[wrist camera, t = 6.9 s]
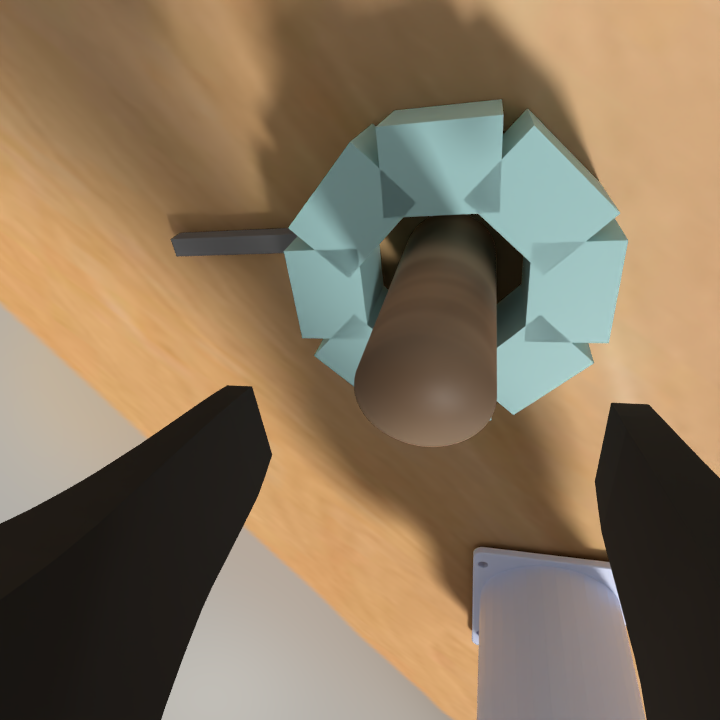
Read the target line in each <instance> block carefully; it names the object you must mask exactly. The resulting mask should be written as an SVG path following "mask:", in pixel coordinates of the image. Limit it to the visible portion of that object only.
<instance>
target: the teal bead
mask: <svg viewBox="0 0 720 720" xmlns="http://www.w3.org/2000/svg"><path fill="white" fill-rule="evenodd" d="M459 214H479V215H480V216H481V217H482V218H483V219H485V220H486V221H487V222H488V223H489V224H490V225H491V226H492V227H493V228H494V229H495V230H496V231H497V232H498V233H500V234H501V235H502V236H503V237H504V238H505V239H506V240H507V241H508V242H509V243H510V244H511V245H512V246H513V247H515V248H516V249H517V250H518V251H519V252H520V253H521V254H522V255H523V267H522V281H521V285H519V286H518V287H517V288H516V289H515V290H513V291H512V292H511V293H510V294H509V295H507V296H506V297H505V298H504V299H503V300H501V301H500V302H499V303H498V304H497V402H498V403H500V404H501V405H502V406H503V407H504V408H506V409H507V410H508V411H509V412H510V413H512V414H513V415H515V414H516V413H518V412H519V411H521V410H522V409H524V408H525V407H527V406H528V405H530V404H532V403H533V402H535V401H536V400H538V399H539V398H541V397H542V396H544V395H545V394H547V393H549V392H550V391H552V390H553V389H555V388H556V387H558V386H559V385H561V384H562V383H564V382H566V381H567V380H569V379H570V378H572V377H573V376H575V375H576V374H578V373H579V372H581V371H583V370H584V369H586V368H587V367H589V366H590V365H592V364H593V363H594V361H593V358H592V355H591V351H590V348H589V344H588V343H609V338H610V333H611V328H612V323H613V317H614V312H615V307H616V302H617V296H618V291H619V286H620V281H621V275H622V270H623V265H624V260H625V254H626V249H627V244H628V239H627V238H626V236H625V234H624V233H623V231H622V230H621V228H620V226H619V225H618V223H617V221H616V220H615V217H616V216H618V215H619V214H620V212H619V211H618V209H617V207H616V206H615V204H614V203H613V201H612V200H611V198H610V197H609V195H608V194H607V192H606V191H605V189H604V188H603V186H602V185H601V183H600V182H599V181H598V180H597V179H596V178H595V177H594V176H593V175H592V174H591V173H590V172H589V171H588V170H587V169H586V168H585V167H584V166H583V165H582V164H581V163H580V162H579V160H578V159H577V158H576V157H575V156H574V155H573V154H572V153H571V152H570V151H569V150H568V149H567V148H566V147H565V146H564V145H563V144H562V143H561V142H560V141H559V140H558V139H557V138H556V137H555V136H554V135H553V134H552V133H551V132H550V131H549V130H548V129H547V128H546V127H545V126H544V125H543V124H542V122H541V121H540V120H539V119H538V118H537V117H536V116H535V115H534V114H533V113H532V112H531V111H530V110H529V109H528V108H527V109H526V110H525V111H524V113H523V114H522V115H521V116H520V117H519V118H518V119H517V120H516V121H515V122H514V123H513V124H512V126H511V127H510V128H509V129H508V130H507V131H506V132H505V133H504V134H503V105H502V99H499V100H489V101H480V102H470V103H461V104H451V105H441V106H432V107H422V108H412V109H403V110H394V111H393V112H392V113H391V114H390V115H389V116H388V117H386V118H385V119H384V120H383V121H382V122H381V123H379V124H378V125H377V126H375V125H374V124H373V123H372V124H371V125H370V126H369V127H367V128H366V129H365V130H364V131H363V132H361V133H360V134H359V135H358V136H357V137H355V138H354V139H353V140H352V141H350V143H349V144H348V145H347V147H346V148H345V150H344V151H343V152H342V154H341V155H340V157H339V158H338V159H337V161H336V162H335V163H334V165H333V166H332V168H331V169H330V170H329V172H328V173H327V175H326V176H325V177H324V179H323V180H322V182H321V183H320V184H319V186H318V187H317V189H316V190H315V191H314V193H313V194H312V196H311V197H310V198H309V200H308V201H307V202H306V204H305V205H304V207H303V208H302V209H301V211H300V212H299V214H298V215H297V216H296V218H295V219H294V221H293V222H292V223H291V225H290V226H289V229H290V230H291V231H292V232H294V233H295V234H296V235H297V237H296V239H295V240H294V241H293V242H292V243H291V244H290V245H289V246H288V247H287V248H286V249H285V250H284V255H285V259H286V264H287V269H288V273H289V278H290V283H291V287H292V292H293V297H294V301H295V306H296V311H297V315H298V320H299V325H300V330H301V334H302V338H323V340H322V342H321V344H320V346H319V348H318V349H317V351H316V353H315V355H314V356H315V357H316V358H318V359H319V360H320V361H321V362H323V363H324V364H325V365H327V366H328V367H329V368H331V369H332V370H333V371H334V372H336V373H337V374H338V375H340V376H341V377H342V378H343V379H345V380H346V381H347V382H349V383H350V384H351V385H353V386H354V378H355V373H356V370H357V368H358V365H359V362H360V360H361V357H362V355H363V352H364V350H365V347H366V345H367V342H368V340H369V337H370V335H371V332H372V330H373V327H374V325H375V322H376V320H377V317H378V315H379V312H380V310H381V307H382V305H383V302H384V300H385V297H386V295H387V292H388V289H387V288H386V287H385V286H384V285H383V275H382V265H381V255H380V245H379V244H380V243H381V242H382V241H383V240H384V238H385V237H386V236H387V235H388V234H389V233H390V232H391V231H392V229H393V228H394V227H395V226H396V225H397V224H398V223H399V222H400V220H401V219H402V218H403V217H417V216H438V215H459ZM491 419H492V417H491ZM491 419H490V421H491Z"/></svg>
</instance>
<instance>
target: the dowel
mask: <svg viewBox="0 0 720 720" xmlns="http://www.w3.org/2000/svg"><path fill="white" fill-rule="evenodd" d="M354 391H355V396H356V399H357V402H358V404H359V407H360V409H361V410H362V412H363V413H364V415H365V416H366V417H367V419H368V420H369V421H370V422H371V423H372V424H373V425H374V426H375V427H377V428H378V429H379V430H380V431H382V432H384V433H385V434H387V435H388V436H390V437H392V438H394V439H396V440H399V441H402V442H404V443H408V444H411V445H417V446H424V447H441V446H448V445H453V444H457V443H460V442H463V441H465V440H467V439H469V438H471V437H472V436H474V435H476V434H477V433H478V432H479V431H481V430H482V429H483V428H484V427H485V426H486V425H487V423H488V422H489V420H490V419H491V417H492V415H493V413H494V411H495V407H496V403H497V300H496V247H495V243H494V240H493V238H492V236H491V234H490V232H489V231H488V230H487V228H486V227H485V226H484V225H483V224H482V223H480V222H479V221H478V220H476V219H474V218H473V217H470V216H468V215H465V214H459V215H438V216H432V217H430V218H428V219H426V220H425V221H423V222H422V223H421V224H419V225H418V226H417V227H416V228H415V230H414V231H413V232H412V234H411V236H410V237H409V240H408V242H407V245H406V247H405V250H404V252H403V255H402V257H401V260H400V262H399V265H398V267H397V270H396V272H395V275H394V277H393V280H392V282H391V285H390V287H389V290H388V292H387V295H386V297H385V300H384V302H383V305H382V307H381V310H380V312H379V315H378V317H377V320H376V322H375V325H374V327H373V330H372V332H371V335H370V337H369V340H368V342H367V345H366V347H365V350H364V352H363V355H362V357H361V360H360V362H359V365H358V368H357V370H356V373H355V378H354Z"/></svg>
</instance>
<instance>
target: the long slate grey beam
mask: <svg viewBox="0 0 720 720" xmlns="http://www.w3.org/2000/svg"><path fill="white" fill-rule="evenodd" d="M296 237H297V235H296V234H295V233H294V232H292V231H291V230H290V229H289V228H278V229H255V230H233V231H210V232H188V233H179V234H178V235H176V236H175V237H173V238H172V239H171V242H172V244H173V247H174V250H175V253H176V256H206V255H238V254H271V253H284V250H285V249H286V248H287V247H288V246H289V245H290V244H291V243H292V242H293V241H294V240H295V239H296Z"/></svg>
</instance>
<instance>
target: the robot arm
mask: <svg viewBox="0 0 720 720" xmlns="http://www.w3.org/2000/svg"><path fill="white" fill-rule="evenodd" d="M271 456H272V453H271V449H270V446H269V442H268V439H267V436H266V432H265V429H264V425H263V422H262V419H261V415H260V412H259V409H258V405H257V402H256V398H255V395H254V392H253V388H252V387H250V386H228V385H227V386H226V387H224V388H222V389H221V390H219V391H217V392H216V393H214V394H213V395H211V396H210V397H208V398H206V399H205V400H204V401H202V402H201V403H199V404H198V405H196V406H195V407H193V408H192V409H190V410H189V411H188V412H186V413H185V414H183V415H182V416H180V417H179V418H178V419H176V420H175V421H173V422H172V423H170V424H169V425H167V426H166V427H164V428H163V429H162V430H160V431H159V432H157V433H156V434H154V435H153V436H151V437H150V438H148V439H147V440H146V441H144V442H143V443H141V444H140V445H138V446H136V447H135V448H133V449H132V450H130V451H129V452H127V453H126V454H124V455H123V456H121V457H119V458H118V459H116V460H115V461H113V462H112V463H110V464H108V465H107V466H105V467H104V468H102V469H101V470H99V471H97V472H96V473H94V474H93V475H91V476H89V477H88V478H86V479H84V480H83V481H81V482H79V483H77V484H76V485H74V486H72V487H70V488H69V489H67V490H65V491H63V492H61V493H60V494H58V495H56V496H54V497H52V498H51V499H49V500H47V501H45V502H43V503H41V504H39V505H38V506H36V507H34V508H32V509H30V510H28V511H26V512H24V513H22V514H20V515H18V516H16V517H13V518H11V519H10V520H7V521H5V522H3V523H1V524H0V720H161V718H162V715H163V712H164V709H165V706H166V703H167V701H168V698H169V695H170V692H171V689H172V687H173V684H174V681H175V678H176V676H177V673H178V670H179V667H180V664H181V662H182V659H183V656H184V654H185V651H186V649H187V646H188V643H189V641H190V638H191V636H192V633H193V630H194V628H195V626H196V623H197V620H198V618H199V615H200V613H201V610H202V608H203V606H204V603H205V601H206V599H207V597H208V595H209V593H210V590H211V588H212V586H213V584H214V582H215V580H216V578H217V576H218V574H219V572H220V570H221V568H222V566H223V565H224V563H225V561H226V559H227V557H228V555H229V553H230V551H231V549H232V547H233V545H234V543H235V541H236V538H237V537H238V535H239V533H240V531H241V529H242V527H243V525H244V523H245V521H246V519H247V517H248V515H249V513H250V511H251V509H252V507H253V505H254V503H255V501H256V499H257V497H258V494H259V492H260V489H261V486H262V483H263V481H264V478H265V475H266V472H267V469H268V466H269V463H270V460H271ZM595 486H596V494H597V502H598V510H599V517H600V524H601V531H602V535H603V539H604V543H605V547H606V551H607V555H608V559H609V562H605V561H597V560H588V559H580V558H571V557H563V556H555V555H546V554H538V553H530V552H521V551H513V550H504V549H496V548H488V547H478V548H476V549H475V550H474V552H473V608H472V641H473V642H474V643H475V644H476V645H479V655H478V694H477V720H645V715H644V711H643V706H642V701H641V697H640V692H639V688H638V683H637V678H636V674H635V669H634V665H633V660H632V655H631V651H630V646H629V641H628V637H627V632H626V628H625V626H627V630H628V634H629V638H630V641H631V645H632V649H633V653H634V656H635V661H636V665H637V670H638V674H639V679H640V683H641V688H642V694H643V700H644V706H645V712H646V718H647V720H720V478H719V477H718V476H717V475H716V474H715V473H714V472H713V471H712V470H711V469H710V468H709V467H708V466H707V465H706V464H705V463H704V462H703V461H702V460H701V459H700V458H699V457H698V456H697V455H696V454H695V452H694V451H693V450H692V449H691V448H690V447H689V446H688V445H687V444H686V443H685V442H684V441H683V440H682V439H681V438H680V437H679V436H678V435H677V434H676V433H675V432H674V430H673V429H672V428H671V427H670V426H669V425H668V424H667V423H666V422H665V421H664V420H663V419H662V418H661V417H660V416H659V415H658V414H657V413H656V412H655V411H654V410H653V409H652V407H651V406H650V405H648V404H626V403H611V407H610V411H609V416H608V421H607V426H606V431H605V435H604V440H603V445H602V450H601V454H600V459H599V464H598V469H597V474H596V478H595Z"/></svg>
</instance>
